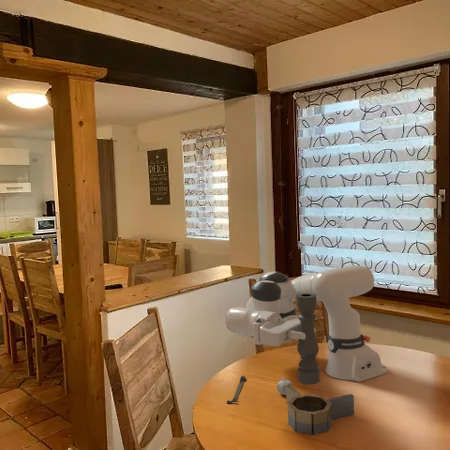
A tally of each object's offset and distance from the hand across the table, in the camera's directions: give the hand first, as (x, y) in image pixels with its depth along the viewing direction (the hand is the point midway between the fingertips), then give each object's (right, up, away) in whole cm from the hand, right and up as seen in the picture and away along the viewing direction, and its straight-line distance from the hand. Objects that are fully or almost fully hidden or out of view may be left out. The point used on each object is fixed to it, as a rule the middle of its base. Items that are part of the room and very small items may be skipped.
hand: (310, 333), depth 134 cm
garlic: (-4, -26, +23) cm, 35 cm away
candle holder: (0, -14, +1) cm, 14 cm away
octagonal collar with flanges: (+3, -26, +8) cm, 28 cm away
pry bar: (-19, -26, +27) cm, 42 cm away
